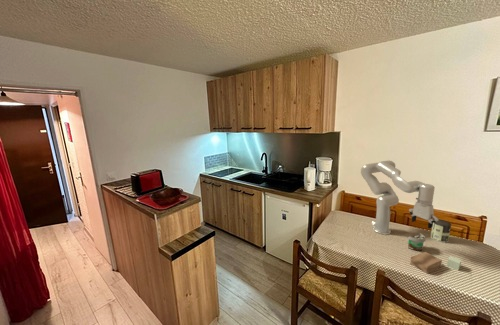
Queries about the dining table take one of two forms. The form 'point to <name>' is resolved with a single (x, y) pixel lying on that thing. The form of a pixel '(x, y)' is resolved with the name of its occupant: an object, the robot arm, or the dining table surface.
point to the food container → (416, 242)
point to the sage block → (454, 263)
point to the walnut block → (426, 262)
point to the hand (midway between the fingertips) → (421, 224)
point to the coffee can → (441, 231)
